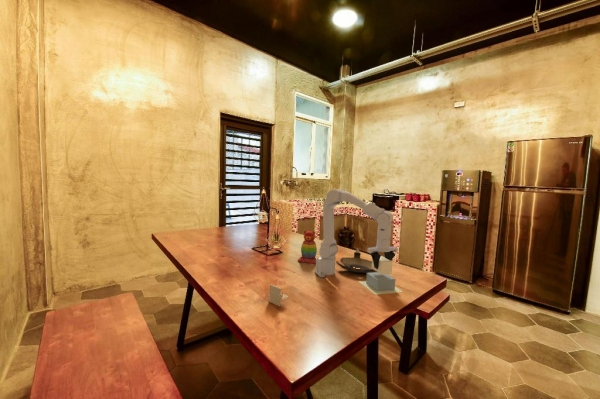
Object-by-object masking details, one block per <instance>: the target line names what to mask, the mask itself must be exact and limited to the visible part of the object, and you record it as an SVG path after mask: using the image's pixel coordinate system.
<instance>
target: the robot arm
mask: <svg viewBox="0 0 600 399" xmlns="http://www.w3.org/2000/svg"><path fill="white" fill-rule="evenodd" d="M342 202H349V203H351V204H352V205H354V206H356V207H358V208H360V209H362V212H363V213H364V214H365V215H367V216H368V217H370V218H371V219H373V220H374V221H376V222H377V232H376V233H377V234H376V244H375V245H376V246H372V247H367V249H366V250H367V253H369V254H370V257H371V260H372V259H373V263H374V268H376V269H378V267H379V260H380V257H381V256H382V255H381V254H379V253H383V254H384V257H385V258H387V259H389V260H391V261H393V259H394V257H395V256H396V253H399V252H398V251H399V250H398V248H399V247H396V246H391V234H392V222H393V221H394V215H393V213H392V212H390V211H389V210H386V209H385V208H381V207H379V206H378V205H376V203H375V202H365V201H364V200H362V199H361V198H359V197H357V196H356V195H354V194H352V193H351V192H349V191H348V190H345V189H344V188H340V189H339V188H338V189H330V190H329V191H327V193H326V197H325V199H324V201H323V203H322V211H323V212H322V216H323V221H322V222H323V224H322V225H323V229H322V230H323V234H322V235H323V239H322V241H321V242H320V247H319V250H318V252H319V255H320V257H316V264H315V271H314V273H316V275H317V276H318V277H320V278H326V277H327V276H332V275H333V276H334V275H335V273H336V272H335V271H336V270H335V269H336V255H337V254H338V251H339V247H338V245H337V240H336V239H335V208H336V206H338V205H339V204H341V203H342Z"/></svg>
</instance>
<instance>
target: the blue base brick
mask: <svg viewBox="0 0 600 399" xmlns="http://www.w3.org/2000/svg"><path fill="white" fill-rule="evenodd" d="M365 281H366V284H368V285H369V286H370V287H372V288H373V289H374V290H376V291H377V292H379V291H388V290H395V287H396V278H394V277H393V276H391V274H383V275H382V274H380V273H378V272H377V271H372V272H368V273H366V280H365Z"/></svg>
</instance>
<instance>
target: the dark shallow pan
mask: <svg viewBox="0 0 600 399" xmlns="http://www.w3.org/2000/svg"><path fill="white" fill-rule="evenodd" d="M339 261H340V262H339ZM339 261H338V260H337V261H336V260H335V264H337V265H338V266H339V267H340V268H342V269H344V270H346V271H349V272H352V273H355V274H356V273H357V274H367V273H372V272H376V271H375V270H374V269H372V260H369V259H366V258H361V252H360V249H359V248H356V250H355V251H354V253H353V257H349V256H347V257H341V258H340V259H339ZM341 263H342V264H341ZM352 267H355V268H352ZM356 268H360V269H356Z"/></svg>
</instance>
